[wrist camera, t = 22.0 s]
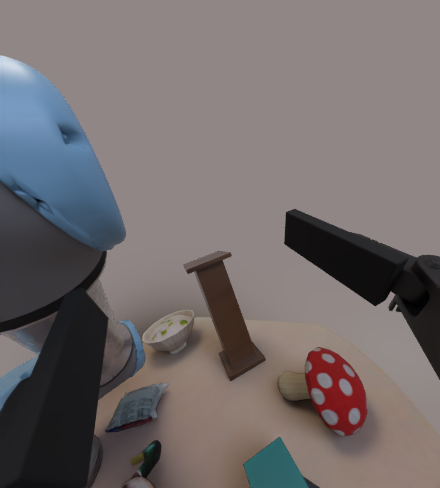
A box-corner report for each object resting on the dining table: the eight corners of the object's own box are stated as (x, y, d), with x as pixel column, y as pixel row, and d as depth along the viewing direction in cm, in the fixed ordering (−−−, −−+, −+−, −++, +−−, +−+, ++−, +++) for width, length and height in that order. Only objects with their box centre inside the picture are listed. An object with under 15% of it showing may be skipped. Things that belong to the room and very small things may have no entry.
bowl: (192, 323, 78) (184, 302, 77) (211, 340, 61) (201, 314, 60) (147, 351, 68) (138, 327, 68) (156, 380, 52) (143, 349, 51)
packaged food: (129, 401, 47) (122, 385, 47) (171, 389, 46) (164, 373, 46) (108, 441, 38) (99, 422, 38) (158, 427, 38) (150, 407, 37)
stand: (217, 355, 53) (183, 264, 50) (250, 338, 55) (218, 250, 53) (229, 383, 42) (186, 269, 40) (268, 360, 45) (230, 252, 42)
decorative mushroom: (254, 356, 36) (323, 346, 26) (288, 350, 42) (356, 341, 32) (269, 433, 30) (367, 459, 20) (307, 414, 36) (397, 427, 26)
